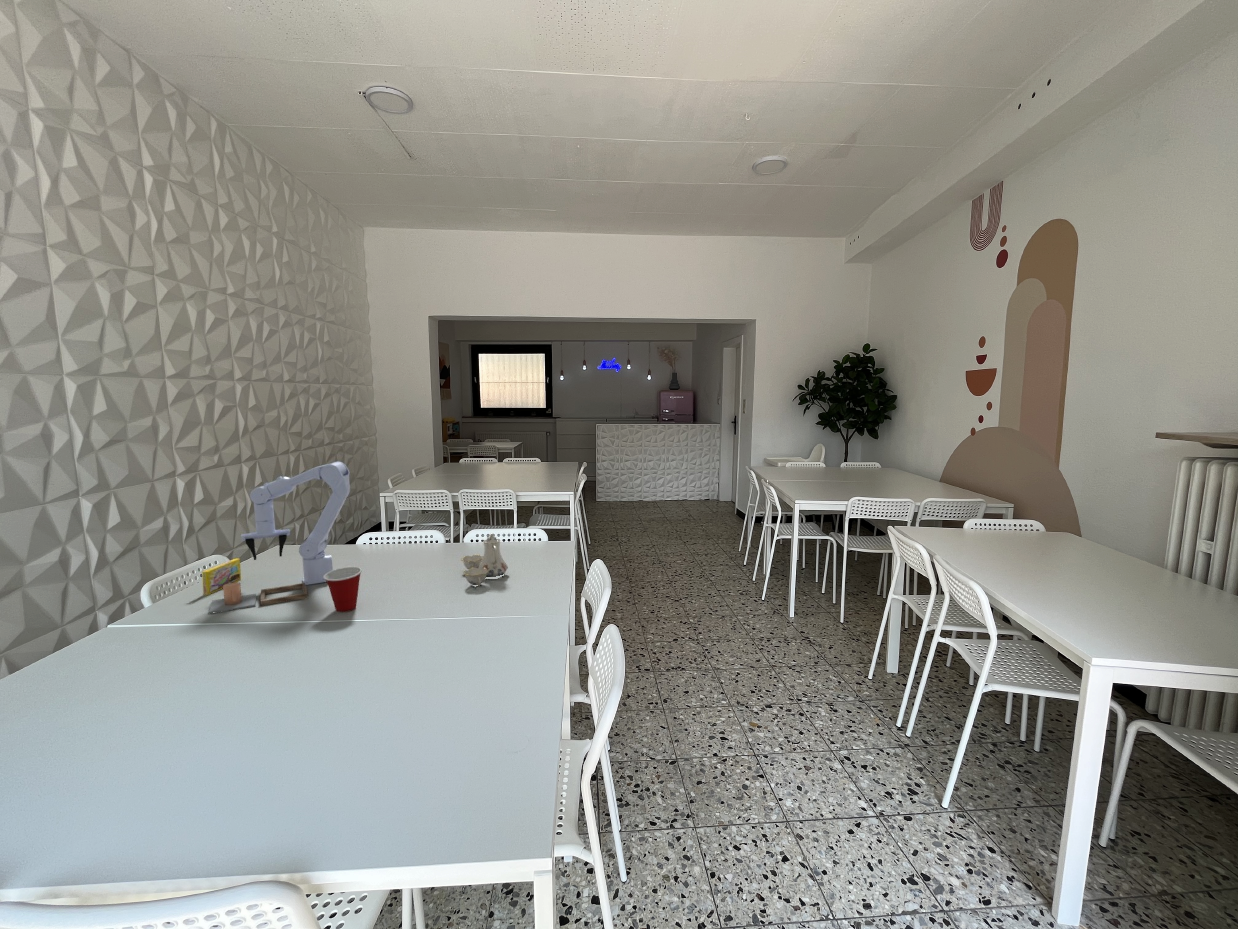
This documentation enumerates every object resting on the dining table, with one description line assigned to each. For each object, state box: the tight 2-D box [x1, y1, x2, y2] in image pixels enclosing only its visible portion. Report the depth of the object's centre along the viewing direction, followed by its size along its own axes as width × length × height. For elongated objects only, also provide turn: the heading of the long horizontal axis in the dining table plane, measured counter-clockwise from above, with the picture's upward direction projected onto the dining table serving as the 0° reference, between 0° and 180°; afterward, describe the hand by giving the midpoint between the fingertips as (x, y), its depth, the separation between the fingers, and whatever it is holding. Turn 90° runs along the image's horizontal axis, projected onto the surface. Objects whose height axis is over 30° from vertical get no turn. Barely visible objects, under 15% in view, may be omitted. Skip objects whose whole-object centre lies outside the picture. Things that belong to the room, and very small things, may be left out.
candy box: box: [201, 558, 242, 596], centre depth 196 cm, size 16×2×8 cm, turn 179°
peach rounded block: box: [222, 581, 243, 605], centre depth 179 cm, size 6×5×6 cm
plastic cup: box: [324, 566, 362, 613], centre depth 175 cm, size 11×11×12 cm
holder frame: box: [260, 582, 308, 606], centre depth 188 cm, size 13×13×2 cm
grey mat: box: [208, 593, 257, 614], centre depth 180 cm, size 12×12×1 cm
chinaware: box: [460, 533, 509, 587], centre depth 205 cm, size 28×17×17 cm, turn 23°
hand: (268, 557), depth 200 cm, fingers open, 7 cm apart
